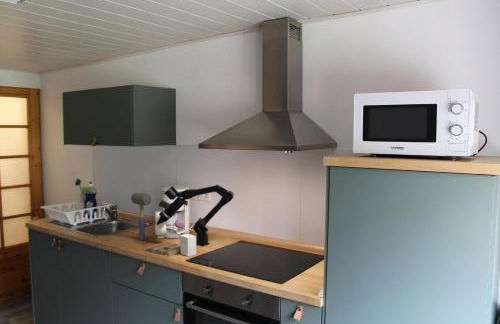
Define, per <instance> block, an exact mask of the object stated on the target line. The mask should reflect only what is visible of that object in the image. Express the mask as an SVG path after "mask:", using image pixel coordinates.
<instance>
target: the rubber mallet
mask: <svg viewBox="0 0 500 324" xmlns="http://www.w3.org/2000/svg"><path fill="white" fill-rule="evenodd" d="M130 199H131V202H132V203H133V204H135V205H139V218H138V229H139V232H138V233H139V234H138V235H139V236H138V239H139V241H146V233H145V230H146V229H145V227H146V221H145V212H144V211H145V210H144V209H145V207H144V206H150V204H151V203H152V196H151V195H150V194H148V193H143V192H135V193H133V194H132V196H131V197H130Z"/></svg>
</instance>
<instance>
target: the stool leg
mask: <svg viewBox="0 0 500 324" xmlns="http://www.w3.org/2000/svg"><path fill="white" fill-rule="evenodd" d="M162 211H163V210H156V211H155V212H154V215H155V216H154V217H155V219H154V221H155V224H154V229H155V230H154V231H155V232H154V234H155V236H156V237H157V239H164V238H165V236H166V235H168V234H167V233H168V232H167V221H166V222H163V223H161V224H159V225H157V224H156V223H157V222H158V220H159V218H160V215H159V214H160V213H161V212H162Z"/></svg>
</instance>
